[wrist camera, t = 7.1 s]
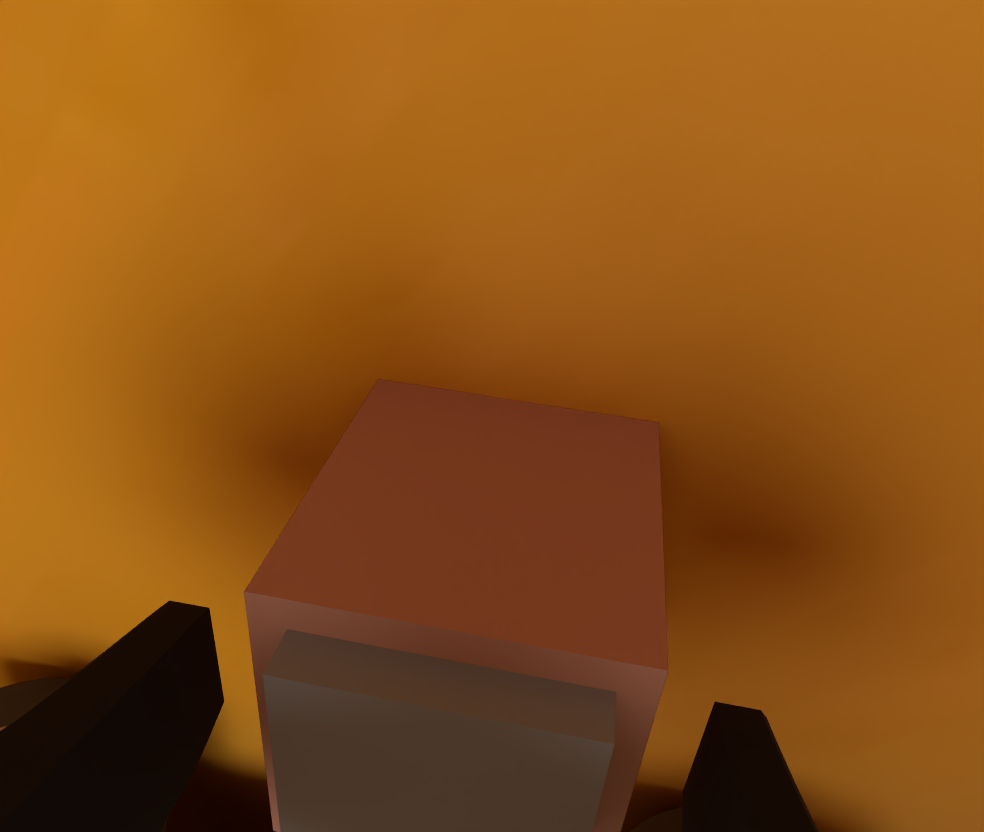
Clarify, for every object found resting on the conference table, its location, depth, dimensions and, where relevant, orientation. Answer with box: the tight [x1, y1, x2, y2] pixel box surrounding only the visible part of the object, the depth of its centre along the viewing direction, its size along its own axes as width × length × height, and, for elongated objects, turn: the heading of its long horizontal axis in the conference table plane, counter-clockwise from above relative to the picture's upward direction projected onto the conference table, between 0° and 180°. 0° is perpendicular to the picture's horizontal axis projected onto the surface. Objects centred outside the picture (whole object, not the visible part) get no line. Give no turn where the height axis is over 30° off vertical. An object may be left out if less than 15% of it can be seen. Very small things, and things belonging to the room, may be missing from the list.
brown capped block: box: [244, 379, 668, 832], centre depth 12 cm, size 5×5×6 cm
